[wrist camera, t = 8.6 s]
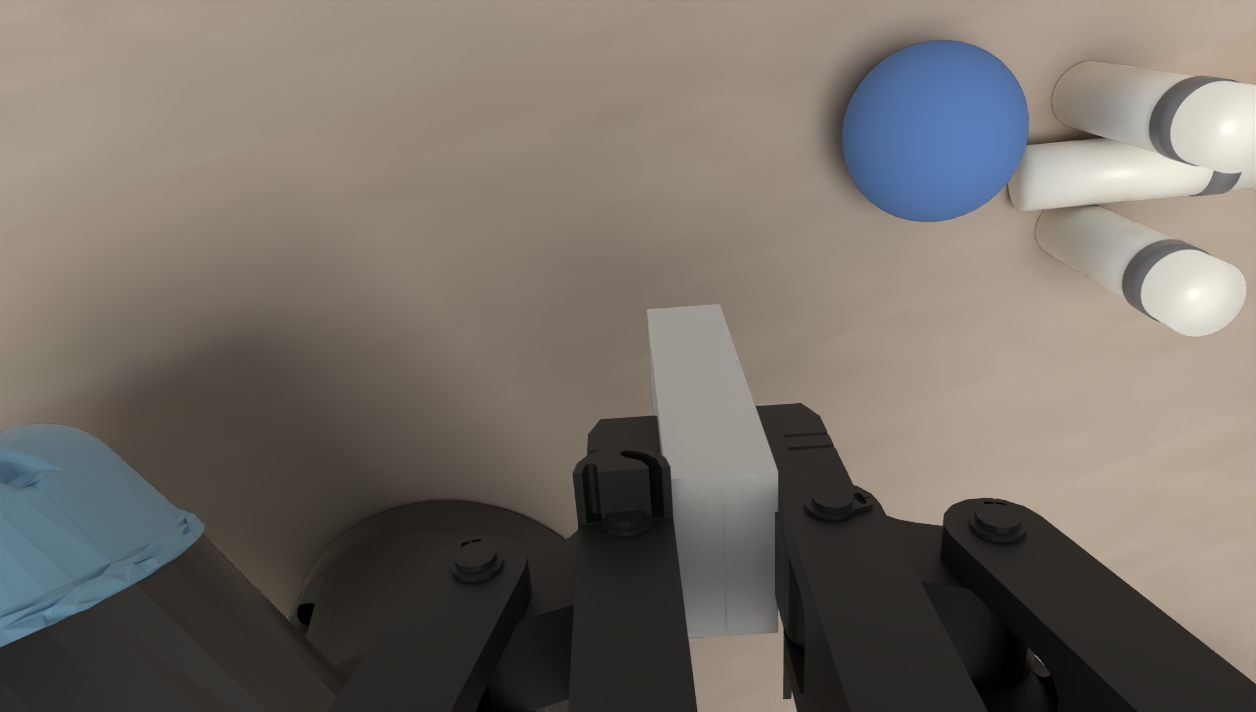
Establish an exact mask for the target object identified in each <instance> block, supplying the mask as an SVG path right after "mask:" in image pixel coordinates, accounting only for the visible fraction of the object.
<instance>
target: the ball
mask: <svg viewBox="0 0 1256 712" xmlns="http://www.w3.org/2000/svg"><path fill="white" fill-rule="evenodd" d="M1028 129H1029V115H1028V108H1027V103H1026V99H1025V96H1024V93H1023V91H1022V89H1021V87H1020V85H1019V83H1018V81H1017V79H1016V78H1015V76H1014V75H1013V73H1012V72H1011V71H1010V70H1009V69H1008V68H1007V67H1006V66H1005V65H1004V63H1003V62H1002V61H1000V60H999V59H998V58H997V57H995V56H994V55H992V54H991V53H989V52H988V51H986V50H984V49H981V48H979V47H977V46H975V45H971V44H968V43H964V42H960V41H951V40H935V41H928V42H923V43H918V44H915V45H912V46H909V47H906V48H904V49H902V50H900V51H898V52H896V53H894V54H892V55H890V56H889V57H887V58H886V59H884V60H883V61H881V62H880V63H879V64H878V65H877V66H876V67H875V68H874V69H873V70H871V71H870V72H869V73H868V74H867V76H866V77H865V78H864V79H863V81H862V82H861V83H860V85H859V86H858V88H857V89H856V91H855V93H854V94H853V96H852V98H851V100H850V103H849V105H848V108H847V111H846V113H845V118H844V123H843V129H842V148H843V155H844V160H845V163H846V166H847V169H848V171H849V174H850V176H851V178H852V180H853V182H854V183H855V185H856V186H857V188H858V189H859V190H860V191H861V193H862V194H863V195H864V196H865V197H866V198H867V199H868V200H869V201H870V202H871V203H873V204H874V205H876V206H877V207H878V208H880V209H881V210H883V211H885V212H887V213H889V214H891V215H894V216H896V217H899V218H903V219H907V220H911V221H919V222H937V221H943V220H949V219H953V218H956V217H959V216H963V215H965V214H967V213H969V212H971V211H973V210H975V209H977V208H979V207H980V206H982V205H984V204H985V203H987V202H988V201H989V200H990V199H992V198H993V197H994V196H995V195H996V194H997V193H998V192H1000V191H1001V189H1002V188H1003V187H1004V186H1005V185H1006V184H1007V183H1008V181H1009V180H1010V179H1011V177H1012V175H1013V174H1014V172H1015V171H1016V169H1017V167H1018V165H1019V163H1020V161H1021V159H1022V157H1023V154H1024V151H1025V147H1026V143H1027V139H1028Z"/></svg>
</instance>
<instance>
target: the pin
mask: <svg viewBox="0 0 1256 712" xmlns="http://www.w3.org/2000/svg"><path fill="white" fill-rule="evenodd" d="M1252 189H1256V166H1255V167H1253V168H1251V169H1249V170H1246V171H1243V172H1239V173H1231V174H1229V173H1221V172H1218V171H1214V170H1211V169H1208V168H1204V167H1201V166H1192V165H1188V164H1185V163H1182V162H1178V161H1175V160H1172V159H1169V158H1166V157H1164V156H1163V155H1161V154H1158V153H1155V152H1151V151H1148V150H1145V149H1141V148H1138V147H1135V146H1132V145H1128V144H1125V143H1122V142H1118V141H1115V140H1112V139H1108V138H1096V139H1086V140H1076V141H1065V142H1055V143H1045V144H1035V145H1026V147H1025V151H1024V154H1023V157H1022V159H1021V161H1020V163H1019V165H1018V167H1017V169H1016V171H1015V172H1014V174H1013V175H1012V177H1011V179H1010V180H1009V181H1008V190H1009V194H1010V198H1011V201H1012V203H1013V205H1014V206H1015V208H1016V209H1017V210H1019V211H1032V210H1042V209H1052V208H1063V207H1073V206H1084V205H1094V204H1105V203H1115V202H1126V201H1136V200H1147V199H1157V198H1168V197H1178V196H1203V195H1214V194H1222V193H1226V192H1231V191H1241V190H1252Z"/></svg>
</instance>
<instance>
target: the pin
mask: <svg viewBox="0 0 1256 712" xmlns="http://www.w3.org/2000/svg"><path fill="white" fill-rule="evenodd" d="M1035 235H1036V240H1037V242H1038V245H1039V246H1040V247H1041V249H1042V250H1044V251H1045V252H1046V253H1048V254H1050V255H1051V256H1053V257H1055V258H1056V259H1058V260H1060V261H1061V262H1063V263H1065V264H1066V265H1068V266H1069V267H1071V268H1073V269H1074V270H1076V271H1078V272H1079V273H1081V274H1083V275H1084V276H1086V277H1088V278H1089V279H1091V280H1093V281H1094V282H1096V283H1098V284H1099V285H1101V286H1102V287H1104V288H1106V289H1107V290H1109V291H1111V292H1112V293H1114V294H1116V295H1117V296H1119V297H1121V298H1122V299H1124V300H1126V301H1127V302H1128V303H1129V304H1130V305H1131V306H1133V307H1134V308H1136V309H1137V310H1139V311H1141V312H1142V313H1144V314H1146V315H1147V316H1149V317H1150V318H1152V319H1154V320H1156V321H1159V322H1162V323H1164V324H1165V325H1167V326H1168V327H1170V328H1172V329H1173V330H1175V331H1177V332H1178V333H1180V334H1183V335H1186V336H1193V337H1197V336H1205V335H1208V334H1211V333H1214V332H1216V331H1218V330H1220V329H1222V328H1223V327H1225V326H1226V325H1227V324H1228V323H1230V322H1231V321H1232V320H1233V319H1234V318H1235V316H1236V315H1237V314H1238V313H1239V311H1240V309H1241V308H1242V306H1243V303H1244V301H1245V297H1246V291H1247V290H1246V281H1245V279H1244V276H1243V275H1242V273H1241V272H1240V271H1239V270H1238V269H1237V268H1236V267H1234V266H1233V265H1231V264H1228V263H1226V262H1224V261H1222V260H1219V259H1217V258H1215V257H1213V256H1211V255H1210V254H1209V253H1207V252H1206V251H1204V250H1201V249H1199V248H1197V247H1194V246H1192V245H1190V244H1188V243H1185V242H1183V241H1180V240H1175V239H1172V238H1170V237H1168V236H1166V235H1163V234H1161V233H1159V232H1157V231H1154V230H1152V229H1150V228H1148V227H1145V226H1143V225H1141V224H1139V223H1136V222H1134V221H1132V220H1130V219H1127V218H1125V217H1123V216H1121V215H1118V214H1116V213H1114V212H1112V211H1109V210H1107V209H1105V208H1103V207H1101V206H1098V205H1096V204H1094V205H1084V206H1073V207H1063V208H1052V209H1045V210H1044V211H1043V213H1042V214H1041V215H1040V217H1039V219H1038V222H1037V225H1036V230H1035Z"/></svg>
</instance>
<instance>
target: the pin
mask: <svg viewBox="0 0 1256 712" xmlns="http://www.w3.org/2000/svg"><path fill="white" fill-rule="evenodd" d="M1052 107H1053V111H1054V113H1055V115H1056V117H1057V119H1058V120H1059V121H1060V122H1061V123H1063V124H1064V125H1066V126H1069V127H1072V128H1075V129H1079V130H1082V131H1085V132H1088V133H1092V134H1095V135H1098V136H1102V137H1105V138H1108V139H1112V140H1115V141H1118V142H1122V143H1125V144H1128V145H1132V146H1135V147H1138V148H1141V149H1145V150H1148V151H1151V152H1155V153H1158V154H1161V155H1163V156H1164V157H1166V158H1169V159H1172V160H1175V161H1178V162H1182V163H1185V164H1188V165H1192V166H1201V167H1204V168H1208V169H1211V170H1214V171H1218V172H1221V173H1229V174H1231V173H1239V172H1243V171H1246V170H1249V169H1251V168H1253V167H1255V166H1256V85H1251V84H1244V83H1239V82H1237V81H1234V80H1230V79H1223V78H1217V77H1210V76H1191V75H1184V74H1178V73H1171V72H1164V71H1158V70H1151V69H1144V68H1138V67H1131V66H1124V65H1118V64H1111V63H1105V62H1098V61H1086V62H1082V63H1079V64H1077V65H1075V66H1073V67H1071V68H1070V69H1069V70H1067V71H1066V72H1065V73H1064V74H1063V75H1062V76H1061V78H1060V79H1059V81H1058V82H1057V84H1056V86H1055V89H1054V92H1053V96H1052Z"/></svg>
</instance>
